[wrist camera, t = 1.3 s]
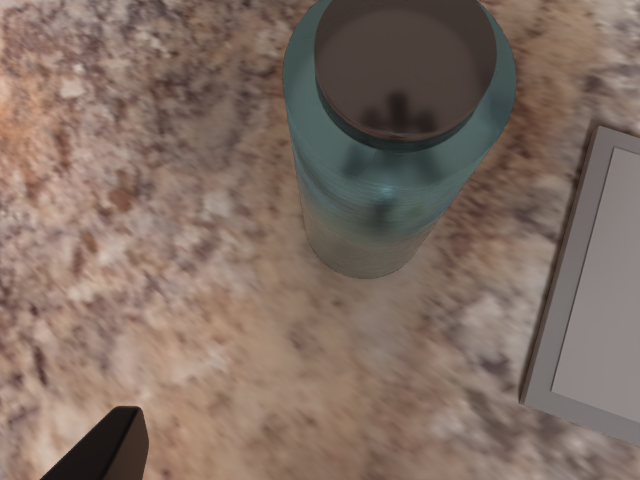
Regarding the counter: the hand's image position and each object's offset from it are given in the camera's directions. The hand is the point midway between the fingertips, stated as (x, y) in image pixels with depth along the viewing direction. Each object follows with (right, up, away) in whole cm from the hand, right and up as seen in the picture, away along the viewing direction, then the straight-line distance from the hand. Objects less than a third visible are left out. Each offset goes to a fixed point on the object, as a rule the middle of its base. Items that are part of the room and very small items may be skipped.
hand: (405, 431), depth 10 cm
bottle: (0, +4, +14) cm, 15 cm away
